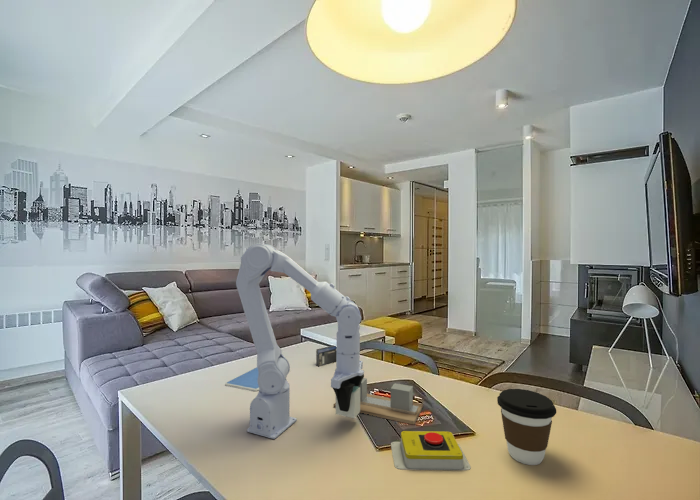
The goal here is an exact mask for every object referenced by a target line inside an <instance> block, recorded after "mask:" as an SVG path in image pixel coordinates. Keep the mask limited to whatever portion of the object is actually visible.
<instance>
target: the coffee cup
mask: <svg viewBox="0 0 700 500" xmlns="http://www.w3.org/2000/svg"><path fill="white" fill-rule="evenodd" d="M496 399H497V405H498V406H499V407H500V413H501V420H502V427H503V433H504V439H505V440H506V446H507V451H508V453H509V455H510V456H511V458H512V459H513V460H515V461H517V462H518V463H521V464H523V465H529V466H538V465H540V464H541V463H542V462H543V460H544V459H545V456H546V450H547V447H548V445H549V438H550V434H551V429H552V423H553V421H552V418H554V417H555V415H557V408H556V406H555V404H554V401H553V400H551V398H549V397H548V396H545V395H544V394H541V393H540V392H537V391H533V390H529V389H522V388H509V389H503V390H502V391H501V392H500V393H499V395H498V396H497V397H496Z"/></svg>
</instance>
